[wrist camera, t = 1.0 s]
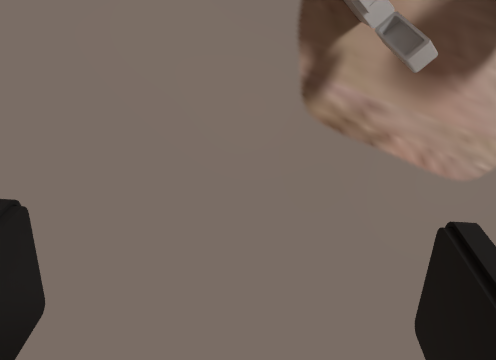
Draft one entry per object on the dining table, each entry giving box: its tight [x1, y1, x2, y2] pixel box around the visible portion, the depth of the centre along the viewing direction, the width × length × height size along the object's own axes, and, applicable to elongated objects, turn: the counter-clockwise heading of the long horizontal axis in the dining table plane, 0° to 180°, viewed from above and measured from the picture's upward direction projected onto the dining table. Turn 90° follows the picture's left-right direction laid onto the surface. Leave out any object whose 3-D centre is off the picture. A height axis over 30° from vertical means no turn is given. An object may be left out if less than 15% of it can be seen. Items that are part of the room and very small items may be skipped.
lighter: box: [344, 0, 438, 73], centre depth 30 cm, size 7×2×8 cm, turn 43°
